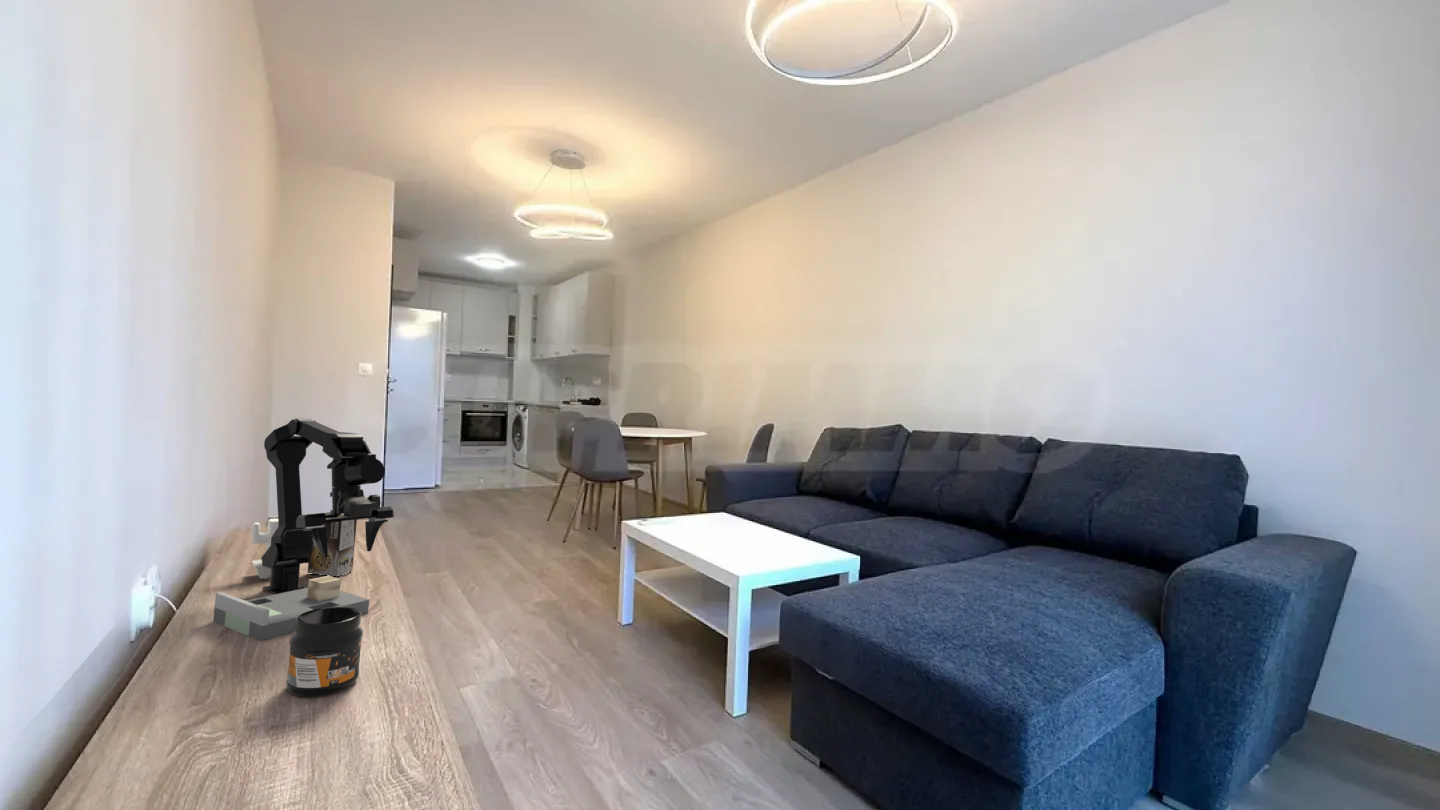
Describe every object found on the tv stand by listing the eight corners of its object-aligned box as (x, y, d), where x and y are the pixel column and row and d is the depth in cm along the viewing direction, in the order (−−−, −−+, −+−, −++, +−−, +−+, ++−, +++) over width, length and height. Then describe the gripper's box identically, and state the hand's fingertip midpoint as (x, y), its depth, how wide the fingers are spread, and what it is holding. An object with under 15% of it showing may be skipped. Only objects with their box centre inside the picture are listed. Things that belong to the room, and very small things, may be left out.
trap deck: (213, 621, 126) (215, 592, 126) (320, 596, 146) (323, 572, 146) (261, 641, 118) (263, 610, 118) (368, 612, 138) (370, 586, 138)
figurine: (293, 576, 160) (299, 520, 160) (249, 581, 153) (255, 523, 153) (288, 570, 165) (293, 515, 165) (244, 574, 158) (250, 518, 158)
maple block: (307, 597, 136) (308, 579, 136) (327, 592, 140) (328, 575, 140) (319, 601, 134) (320, 583, 134) (339, 596, 138) (340, 579, 138)
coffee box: (353, 571, 168) (358, 514, 168) (336, 577, 162) (342, 518, 162) (323, 568, 169) (328, 511, 169) (305, 574, 162) (311, 515, 163)
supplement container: (294, 706, 95) (301, 630, 96) (278, 682, 102) (285, 612, 103) (367, 687, 103) (373, 617, 103) (348, 666, 110) (353, 601, 110)
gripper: (314, 487, 127) (316, 562, 126) (403, 481, 142) (406, 548, 141) (294, 490, 134) (295, 561, 132) (382, 484, 149) (383, 548, 147)
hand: (347, 554), depth 138 cm, fingers open, 9 cm apart
